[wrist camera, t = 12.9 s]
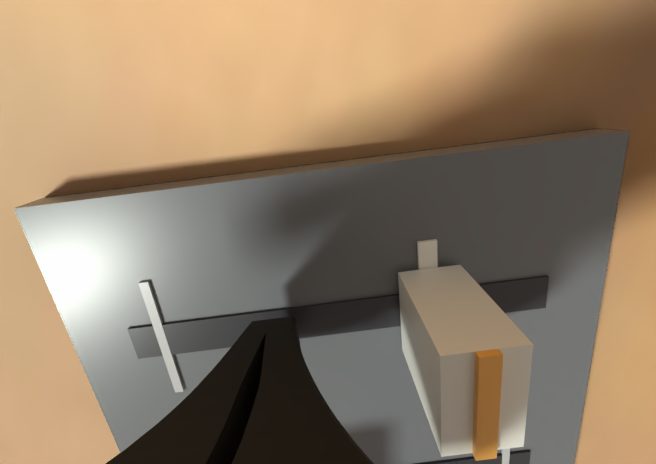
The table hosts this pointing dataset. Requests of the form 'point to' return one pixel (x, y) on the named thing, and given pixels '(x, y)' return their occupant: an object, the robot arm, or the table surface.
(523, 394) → the fader
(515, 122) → the table surface
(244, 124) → the table surface
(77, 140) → the table surface
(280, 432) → the robot arm
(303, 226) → the console
